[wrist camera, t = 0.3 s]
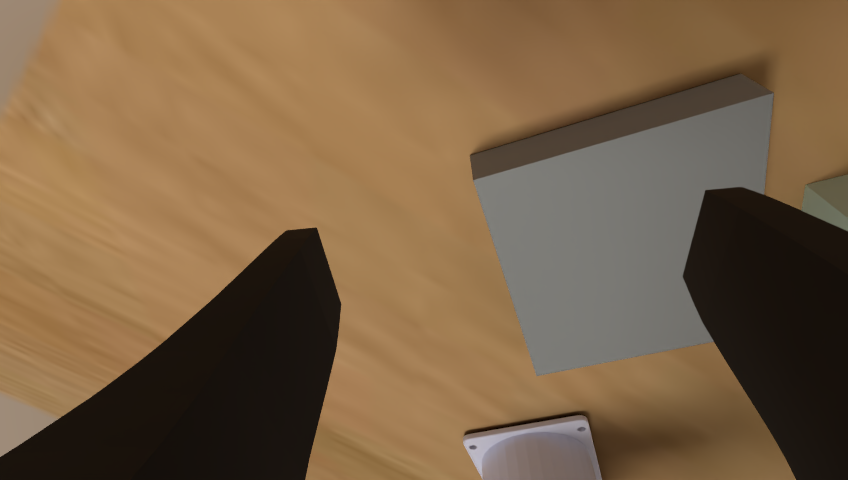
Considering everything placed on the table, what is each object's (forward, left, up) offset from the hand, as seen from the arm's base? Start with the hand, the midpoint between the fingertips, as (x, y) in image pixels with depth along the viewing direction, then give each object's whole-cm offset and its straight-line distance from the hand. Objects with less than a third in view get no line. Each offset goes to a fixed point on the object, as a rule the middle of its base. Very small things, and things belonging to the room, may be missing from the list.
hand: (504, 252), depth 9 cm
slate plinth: (-9, -4, -10) cm, 14 cm away
